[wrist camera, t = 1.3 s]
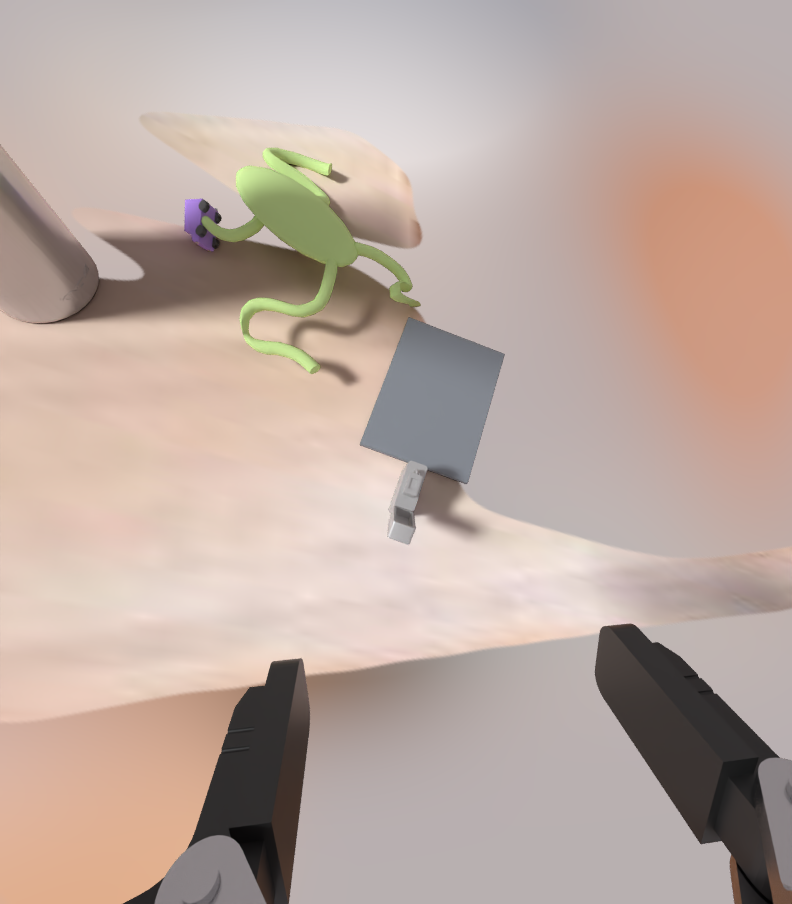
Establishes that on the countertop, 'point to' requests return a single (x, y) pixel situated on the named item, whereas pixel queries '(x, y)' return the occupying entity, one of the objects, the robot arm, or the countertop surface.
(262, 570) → the countertop surface
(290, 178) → the figurine
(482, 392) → the slate pad
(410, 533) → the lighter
